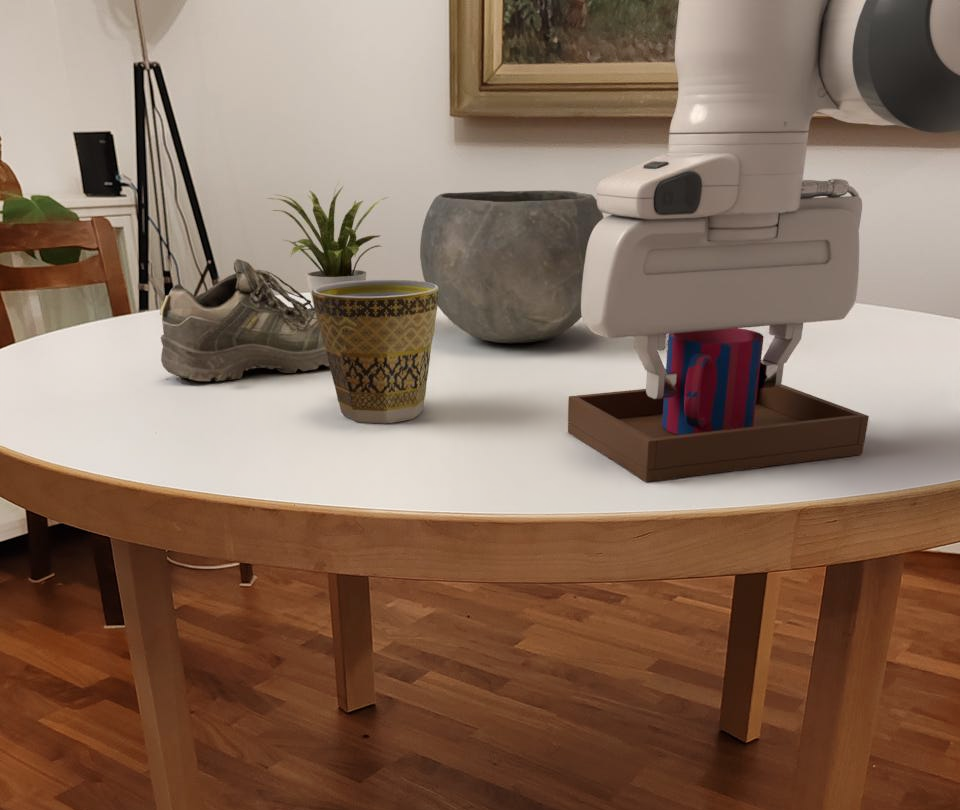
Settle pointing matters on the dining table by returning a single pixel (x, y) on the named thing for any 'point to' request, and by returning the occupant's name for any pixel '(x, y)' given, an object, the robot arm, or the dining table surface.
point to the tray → (715, 434)
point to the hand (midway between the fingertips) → (713, 391)
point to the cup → (712, 380)
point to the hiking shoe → (239, 329)
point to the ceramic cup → (378, 345)
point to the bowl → (509, 260)
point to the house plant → (331, 243)
